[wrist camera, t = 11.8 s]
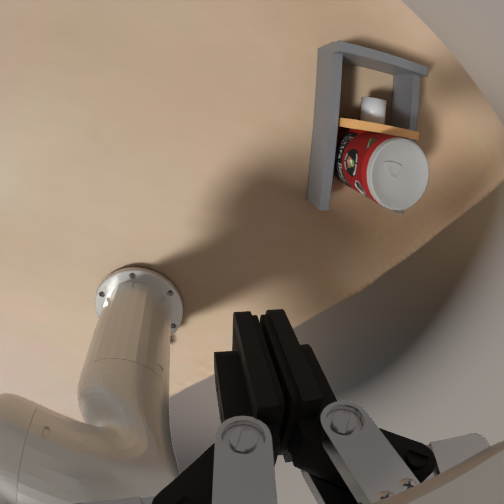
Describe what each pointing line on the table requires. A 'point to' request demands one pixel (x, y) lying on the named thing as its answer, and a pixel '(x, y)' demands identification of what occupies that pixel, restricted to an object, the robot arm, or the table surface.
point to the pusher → (375, 120)
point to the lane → (329, 103)
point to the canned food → (381, 167)
